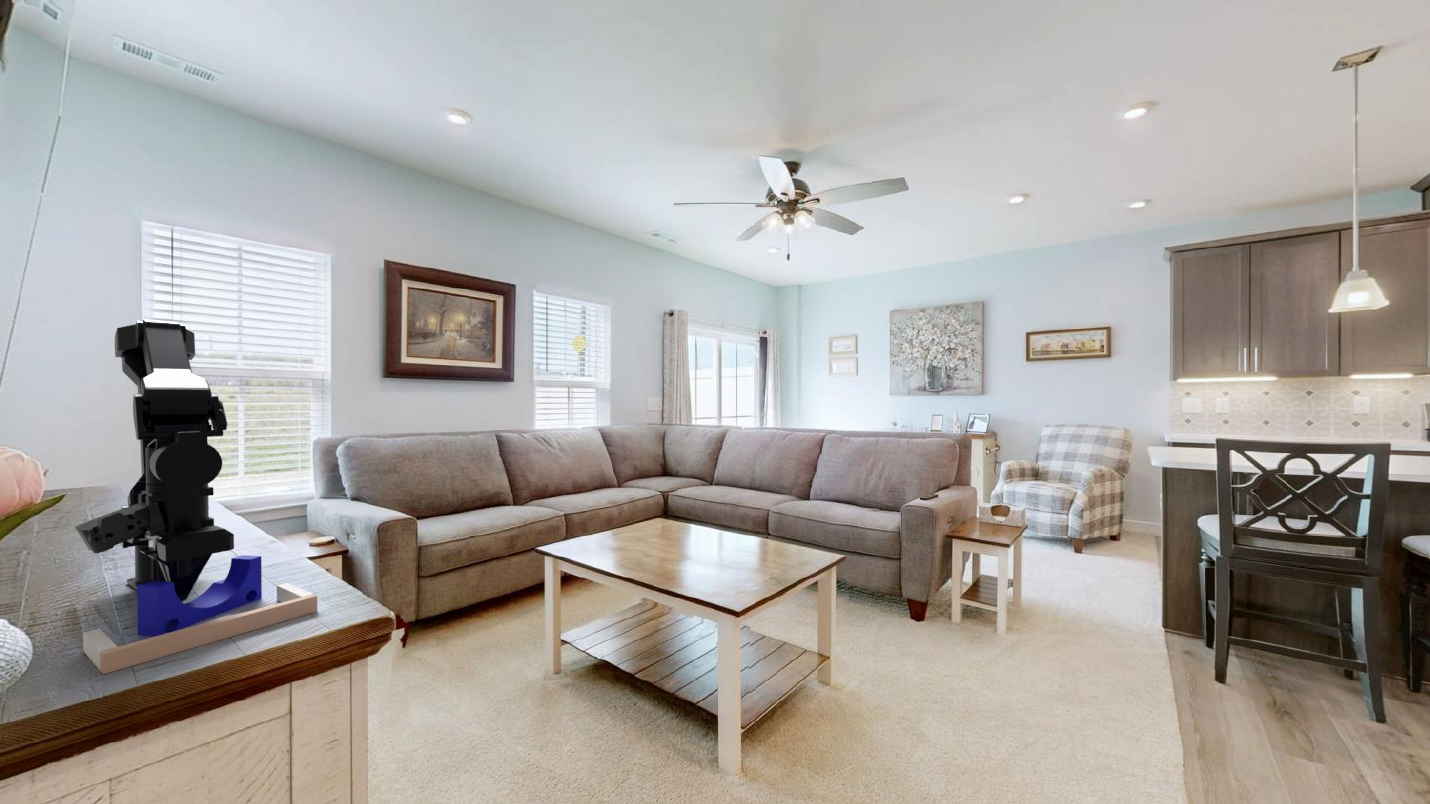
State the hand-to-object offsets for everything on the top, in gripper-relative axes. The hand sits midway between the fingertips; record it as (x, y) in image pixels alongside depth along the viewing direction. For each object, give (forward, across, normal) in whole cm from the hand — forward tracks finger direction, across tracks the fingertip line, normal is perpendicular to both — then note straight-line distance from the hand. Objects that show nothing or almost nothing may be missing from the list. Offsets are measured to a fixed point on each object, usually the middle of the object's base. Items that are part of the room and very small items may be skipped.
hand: (179, 600), depth 70 cm
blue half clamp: (+2, +5, +1) cm, 5 cm away
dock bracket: (+1, +11, 0) cm, 11 cm away
